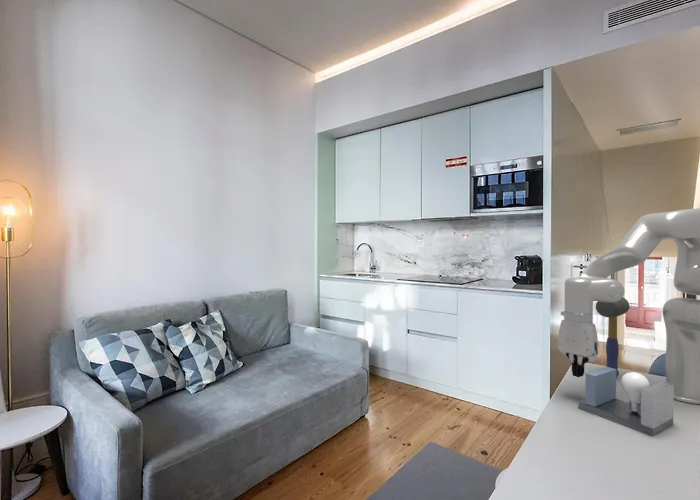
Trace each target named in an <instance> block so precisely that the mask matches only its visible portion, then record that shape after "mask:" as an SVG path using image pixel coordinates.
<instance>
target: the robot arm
mask: <svg viewBox="0 0 700 500" xmlns="http://www.w3.org/2000/svg"><path fill="white" fill-rule="evenodd" d="M665 240H668V241H669V240H673V242H674V243H675V245H676V248H677V254H676V255H677V257H676V264H675V269H674V274H673V286H674V288H675V289H676V290H677V291H679V292H681V293H684V294H687V295H693V296H700V207H697V208H686V209H678V210H677V209H676V210H673V211H665V212H664V211H663V212H654V213H648V214H644V215H642V216H641V217H639V218H638V219H637V221H635V223H634V224H633V225H632V227H631V228H629V230H628V232H626V234H625V235H624V237H622V239H621V240H620V241H619V242H618V244H617V245H616V246H615V247H614V248H613V249H611V250H609V251H607V252H605V253H604V254H602V255H600V256H599V257H598V258H596V259H595V260H593V261H592V262H590V264H588V265H587V266H586V268H584V270H583V271H582V273H581V274H580V275H579V276H578V277H569V278H567V279H565V281H564V310H562V311H560V315H561V316H563V319H561V322H560V325H559V329H558V335H557V336H558V337H557V338H558V339H557V341H558V342H557V348H558V350H559V352H560V353H561V354H563V355H565V356H566V357H567V359H569V362H570V363H571V372H572V376H573V377H576V378H580V377H583V376H584V375H585V364H587V363H588V362H597V361H598V353H599V338H598V331H597V327H596V324H595V323H594V319H593V318H594V317H593V316H594V302H598V301H599V302H606V303H612V302H616V301H618V300H620V299H621V298H622V297H623V298H624V295H625V287H624V285H623V284H622V283H621V282H620V281H619V280H616V279H614V278H611V277H610V276H612V275H614V274H616V273H618V272H620V271H623V270H626V269H629V268H634V267H636V266H639V265H641V264H644V262H646V261H647V259H648V258H649V257H650V255H651V254H652V253H653V252H654V251H655V249H656V248H657V246H658V245H659V244H661V242H662V241H665ZM609 277H610V278H609ZM662 318H663V322H664V325H665V336H666V337H665V338H666V341H665V342H666V346H665V354H666V355H665V382H666V383H670V384H674V400H677V401H678V402H679V401H680V402H684V403H688V404H695V405H700V299H695V298H689V297H673V298H670V299H669V300H667V301H666V302H665V303H664V304H663V306H662Z"/></svg>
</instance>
